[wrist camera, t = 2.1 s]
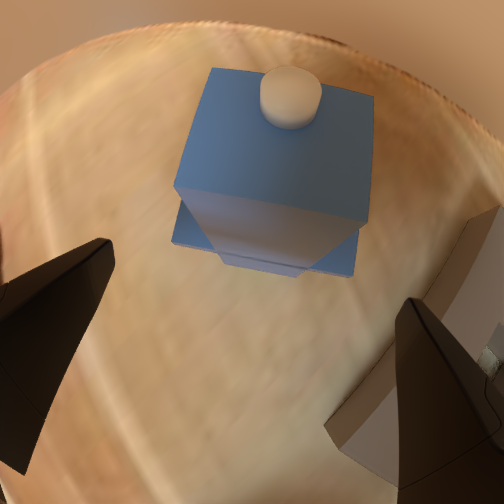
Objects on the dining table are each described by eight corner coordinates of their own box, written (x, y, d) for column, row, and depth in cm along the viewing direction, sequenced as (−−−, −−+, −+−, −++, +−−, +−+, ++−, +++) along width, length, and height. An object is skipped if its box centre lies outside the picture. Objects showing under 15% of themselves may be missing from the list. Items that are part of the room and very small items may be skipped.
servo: (330, 284, 20) (465, 234, 6) (190, 257, 20) (78, 162, 6) (338, 228, 20) (456, 105, 7) (202, 202, 21) (131, 47, 7)
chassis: (439, 500, 16) (462, 521, 12) (323, 425, 18) (338, 449, 14) (550, 325, 19) (580, 324, 15) (468, 220, 20) (500, 204, 16)
